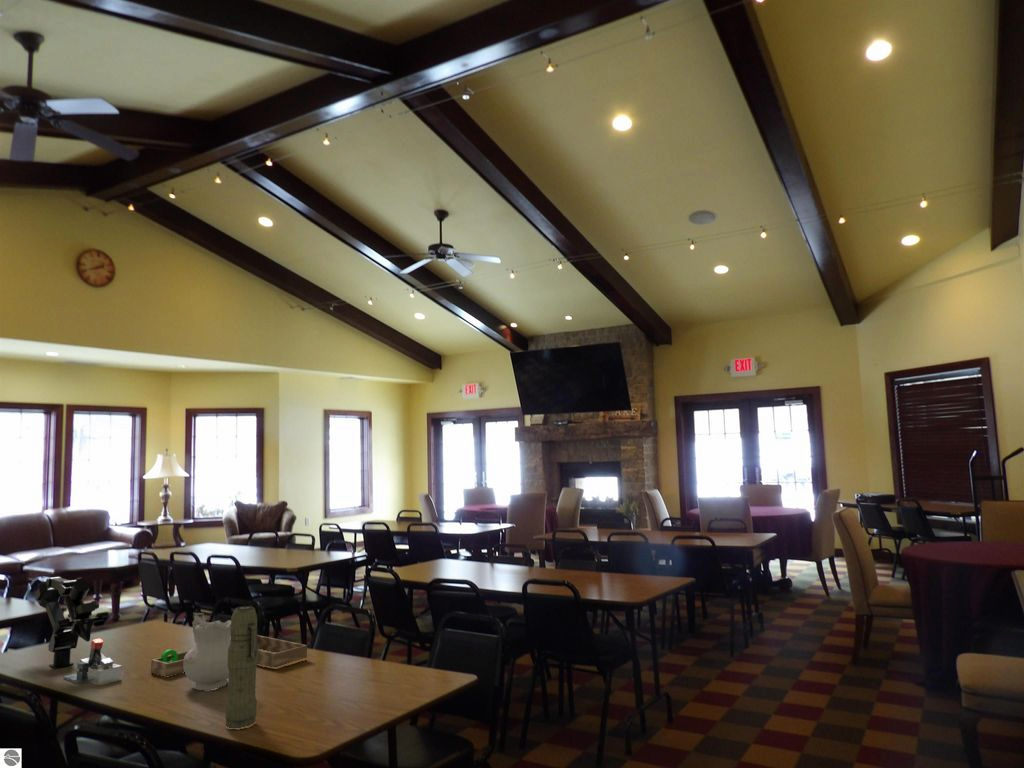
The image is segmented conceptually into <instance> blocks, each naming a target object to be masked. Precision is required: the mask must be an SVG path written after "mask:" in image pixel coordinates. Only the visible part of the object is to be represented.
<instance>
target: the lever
mask: <svg viewBox="0 0 1024 768" xmlns="http://www.w3.org/2000/svg"><path fill="white" fill-rule="evenodd" d="M103 644H104V641H103V639H101V638H95V639H92V640H91V643H90V651H89V652H90V653H89V656H88V657H86V658H81V659H80V660H79V662H85V663H88V669H89V667H94V666H98V665H101V666H102V667H103V668H107V667H111V666H113V663H114V661H113V659H111V657H106V656H105V655H104V654H103V653H102V652H101V650H102V649H103ZM98 660H99V661H100V664H99V663H98ZM88 669H87V672H88Z"/></svg>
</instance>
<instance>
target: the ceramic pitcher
mask: <svg viewBox="0 0 1024 768" xmlns="http://www.w3.org/2000/svg"><path fill="white" fill-rule="evenodd" d="M194 616H195V617H194V619H193V622H192V624H193V625H192V633H193V639H194V642H195V645H194V646H193V648H191V649H190V650H188V651H189V652H188V653H187V654H186V655H185V657H184V660H183V667H184V672H185V673H184V674H185V676H186V677H187V678H188V679H189V681H191V682H192V683H195V684H194V685H193V687H194V690H197V691H201V690H211V689H215V688H219V687H221V688H223V687H225V686H227V685H228V684H227V683H228V682H229V669H228V666H227V664H228V648H229V645H230V639H231V619H230V620H227V621H225V622H223V621H221V620H215V621H212V622H210V621H209V622H207V621H206V620H205V616H204V612H203V613H202V612H201V613H200V612H196V613H195V614H194ZM226 684H227V685H226ZM222 686H223V687H222Z"/></svg>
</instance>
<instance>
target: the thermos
mask: <svg viewBox="0 0 1024 768" xmlns="http://www.w3.org/2000/svg"><path fill="white" fill-rule="evenodd" d="M230 618H231V619H230V620H231V634H230V645H229V648H228V664H227V666H228V669H229V678H228V684H227V689H228V691H227V700H226V702H225V715H224V716H225V727H226V726H227V727H229V728H241V727H245V726H249V725H251V724H253V723H254V722H255V721H256V717H257V711H258V710H257V709H258V707H257V705H258V704H257V703H258V701H257V700H258V699H257V697H256V685H257V684H256V683H257V679H256V678H257V667H258V666H257V664H258V644H257V635H258V614H257V612H256V608H255V607H253V606H252V605H242V606H238V607H236V608H234V610H233V612H232V615H231V617H230Z"/></svg>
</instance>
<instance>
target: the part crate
mask: <svg viewBox="0 0 1024 768" xmlns="http://www.w3.org/2000/svg"><path fill="white" fill-rule="evenodd" d="M189 651H190V650H187V651H182V652H179V653H178V652H177V655H178V658H177V661H175V662H171V663H166V662H162V661H161V657H157V658H154V659H151V664H150V665H151V667H150V668H151V669H150V674H152V673H154V674H153V675H155V674H158V675H157V676H159V675H162V676H166V677H167V676H171V675H175V674H179V673H183V672H184V667H183V660H184V657H185V655H186V654H187V653H188V652H189ZM171 658H172V655H171V654H170V655H168V656H167V661H169V660H171ZM183 674H184V673H183ZM179 675H180V674H179ZM162 676H161V677H162ZM175 676H176V675H175ZM171 677H172V676H171Z"/></svg>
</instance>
